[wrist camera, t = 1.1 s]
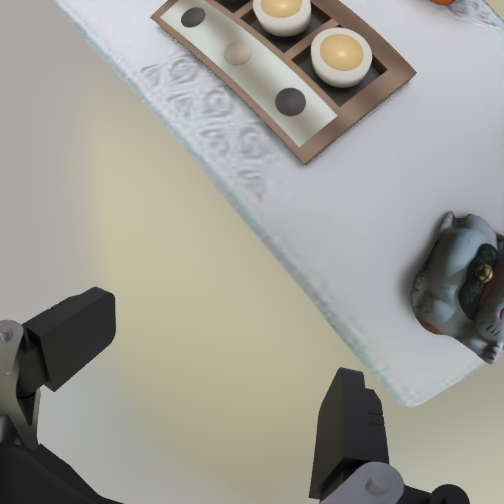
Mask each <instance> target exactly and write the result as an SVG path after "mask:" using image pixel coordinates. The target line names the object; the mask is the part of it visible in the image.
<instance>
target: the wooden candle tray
mask: <svg viewBox="0 0 504 504" xmlns="http://www.w3.org/2000/svg"><path fill="white" fill-rule="evenodd" d="M253 1H254V0H168V1H167V2H166V3H165V4H164V5H162V6H161V7H160V8H159V9H158V10H157V11H156V12H155V13H154V14H153V15H152V16H151V17H150V18H151V19H152V20H154V21H155V22H156V23H157V24H159V25H160V26H161V27H163V28H164V29H165V30H166V31H167V32H169V33H170V34H171V35H172V36H174V37H175V38H176V39H177V40H178V41H180V42H181V43H182V44H183V45H184V46H185V47H187V48H188V49H189V50H190V51H191V52H192V53H194V54H195V55H196V56H197V57H198V58H199V59H200V60H202V61H203V62H204V63H205V64H206V65H207V66H208V67H209V68H210V69H212V70H213V71H214V72H215V73H216V74H217V75H218V76H219V77H220V78H221V79H222V80H223V81H224V82H225V83H227V84H228V85H229V86H230V87H231V88H232V89H233V90H234V91H235V92H236V93H237V94H238V95H239V96H240V97H241V98H242V99H243V100H244V101H245V102H246V103H247V104H248V105H249V106H250V107H251V108H252V109H253V110H254V111H255V112H256V113H257V114H258V115H259V116H260V117H261V118H262V119H263V120H264V121H265V122H266V123H267V124H268V125H269V126H270V128H271V129H272V130H273V131H274V132H275V133H276V134H277V135H278V136H279V137H280V138H281V139H282V140H283V141H284V143H285V144H286V145H287V146H288V147H289V148H290V149H291V150H292V151H293V153H294V154H295V155H296V156H297V157H298V158H299V159H300V160H301V162H302V163H303V164H304V165H306V164H307V163H308V162H309V161H311V160H312V159H313V158H314V157H315V156H317V155H318V154H319V153H320V152H321V151H323V150H324V149H325V148H326V147H327V146H329V145H330V144H331V143H332V142H333V141H335V140H336V139H337V138H338V137H340V136H341V135H342V134H343V133H344V132H346V131H347V130H348V129H349V128H351V127H352V126H353V125H354V124H355V123H357V122H358V121H359V120H360V119H362V118H363V117H364V116H365V115H367V114H368V113H369V112H370V111H372V110H373V109H374V108H375V107H377V106H378V105H379V104H380V103H382V102H383V101H384V100H385V99H387V98H388V97H389V96H390V95H392V94H393V93H394V92H395V91H397V90H398V89H399V88H401V87H402V86H403V85H404V84H406V83H407V82H408V81H410V79H411V78H412V77H413V76H414V75H415V74H416V73H417V72H416V71H415V70H414V69H413V68H412V67H411V66H410V65H409V64H408V63H407V61H406V60H405V59H404V58H403V57H402V56H401V55H400V54H399V53H398V52H397V51H396V50H395V49H394V48H393V47H392V46H391V45H390V44H389V43H388V42H387V41H386V40H385V39H384V38H383V37H381V36H380V35H379V34H378V33H377V32H376V31H375V30H374V29H373V28H372V27H370V26H369V25H368V24H367V23H366V22H365V21H364V20H362V19H361V18H360V17H359V16H358V15H356V14H355V13H354V12H353V11H352V10H350V9H349V8H348V7H346V6H345V5H344V4H343V3H341V2H340V1H339V0H310V5H311V14H312V20H311V23H310V25H309V26H308V28H307V29H306V30H304V31H303V32H301V33H299V34H297V35H294V36H289V37H281V36H276V35H273V34H270V33H268V32H267V31H266V30H264V29H263V27H262V26H261V24H260V22H259V20H258V18H257V16H256V14H255V12H254V10H253ZM330 28H346V29H349V30H352V31H354V32H356V33H358V34H359V35H360V36H362V37H363V38H364V39H365V40H366V42H367V43H368V45H369V46H370V49H371V52H372V62H371V65H370V67H369V69H368V71H367V74H366V76H365V77H364V79H363V80H362V81H361V82H360V83H358V84H357V85H355V86H352V87H348V88H339V87H334V86H331V85H329V84H327V83H325V82H324V81H322V80H321V79H320V78H319V77H318V76H317V74H316V73H315V71H314V68H313V65H312V56H311V45H312V42H313V40H314V38H315V37H316V36H317V35H318V34H319V33H320V32H322V31H324V30H326V29H330Z"/></svg>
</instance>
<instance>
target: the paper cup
mask: <svg viewBox="0 0 504 504" xmlns="http://www.w3.org/2000/svg"><path fill="white" fill-rule="evenodd" d="M431 1H433V2H435V3H438V4H441V5H449V4H451V3H452V2H453V1H455V0H431Z"/></svg>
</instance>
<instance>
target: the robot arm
mask: <svg viewBox="0 0 504 504" xmlns="http://www.w3.org/2000/svg"><path fill="white" fill-rule="evenodd" d="M115 333H116V317H115V297H114V295H113V294H112V293H110V292H108V291H105V290H103V289H101V288H98V287H93V288H91V289H89V290H87V291H86V292H84V293H82V294H80V295H76V296H72V297H68V298H67V299H65V300H63V301H61V302H60V303H59V304H56V305H54V306H53V307H51V309H47V310H46V311H44V312H42V313H40V314H39V315H37V316H35V317H34V318H32V319H30V320H28V321H27V322H25V323H23V324H22V325H20V324H19V323H18V322H16V321H13V320H2V321H0V504H123V503H120V502H116V501H113V500H110V499H107V498H104V497H102V496H100V495H98V494H97V493H96V492H95V491H94V490H93V489H92V488H91V487H90V486H89V485H88V484H87V483H86V482H85V481H84V480H83V479H82V478H81V477H80V476H79V475H78V474H77V473H76V472H75V471H74V470H73V468H72V467H71V466H70V465H68V464H67V463H66V462H64V461H63V460H62V459H60V458H59V457H57V456H56V455H55V454H53V453H52V452H51V451H50V450H48V449H47V448H46V447H44V446H43V445H42V444H38V440H37V424H38V413H39V404H40V395H41V392H40V387H41V386H42V385H43V384H44V385H45V386H46V387H48V388H49V389H50V390H52V391H53V392H55V391H56V390H57V389H59V388H60V387H61V386H62V385H63V384H64V383H66V382H67V381H68V380H69V379H70V378H71V377H72V376H73V375H75V374H76V373H77V372H78V371H79V370H80V369H82V368H83V367H84V366H85V365H86V364H87V363H89V362H90V361H91V360H92V359H93V358H94V357H96V356H97V355H98V354H99V353H100V352H101V351H103V350H104V349H105V348H106V347H107V346H108V345H109V344H111V342H112V341H113V339H114V336H115ZM364 383H365V382H364V375H363V372H361V371H356V370H351V369H347V368H342V367H340V368H339V369H338V371H337V373H336V375H335V377H334V379H333V381H332V384H331V386H330V388H329V390H328V392H327V394H326V396H325V398H324V400H323V402H322V404H321V408H320V411H319V415H318V424H317V435H316V444H315V453H314V462H313V470H312V477H311V485H310V492H309V498H313V499H320V502H319V504H470V502H469V498H468V496H467V494H466V493H465V492H464V491H463V490H462V489H461V488H460V487H458V486H456V485H452V484H445V485H441V486H439V487H438V488H436V489H435V490H434V491H433V492H432V493H429V492H425V491H422V490H418V489H415V488H412V487H409V486H406V485H405V484H404V482H403V479H402V477H401V475H400V473H399V472H398V471H397V470H396V469H395V468H393V467H392V466H390V464H389V456H388V447H387V439H386V432H385V426H384V417H383V416H382V415H383V411H382V405H381V401H380V399H379V398H378V396H377V395H376V393H375V391H374V390H371V389H367V388H365V384H364Z"/></svg>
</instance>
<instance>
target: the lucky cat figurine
mask: <svg viewBox="0 0 504 504" xmlns="http://www.w3.org/2000/svg"><path fill="white" fill-rule="evenodd" d="M411 304H412V308H413V311H414V314H415V316H416V318H417V320H418V321H419V323H420V324H421V325H422V326H423V327H424V328H425V329H426V330H428V331H429V332H432V333H433V334H439V335H449V336H451V337H453V338H455V339H456V340H458V341H459V342H461V343H462V344H464V345H465V346H467V347H468V348H469V349H471V350H472V351H473V352H475V353H476V354H477V356H479V357H480V358H482V359H483V360H484V361H485V362H487V363H489V364H493V363H495V361H497V360H498V358H499V355H500V354H501V352H502V350H503V349H504V236H502V235H500V234H498V233H496V232H494V231H493V230H492V229H491V227H490V226H489V224H488V223H487V222H486V221H485V220H483V219H482V218H481V217H479V216H476V215H471V214H469V215H468V216H466V217H464V218H456V217H455V216H454V214H453V211H451V212H450V213H449V214H448V215H447V217H446V218H445V219H444V220H443V222H442V225H441V228H440V231H439V235H438V238H437V241H436V243H435V245H434V248H433V250H432V251H431V253H430V255H429V257H428V258H427V260H426V262H425V263H424V265H423V266H422V268H421V270H420V271H419V273H418V274H417V276H416V279H415V281H414V283H413V286H412V291H411Z"/></svg>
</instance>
